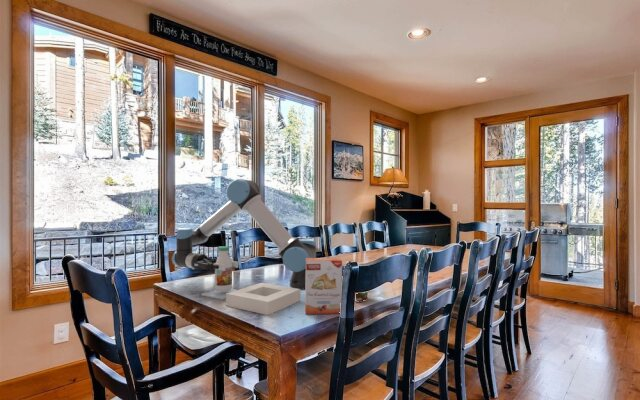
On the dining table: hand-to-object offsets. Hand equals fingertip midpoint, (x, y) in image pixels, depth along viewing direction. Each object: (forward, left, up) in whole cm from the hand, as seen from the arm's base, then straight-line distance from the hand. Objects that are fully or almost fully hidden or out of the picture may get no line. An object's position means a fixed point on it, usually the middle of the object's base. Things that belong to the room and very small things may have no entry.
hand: (231, 266), depth 156 cm
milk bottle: (+4, -3, -12) cm, 13 cm away
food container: (-59, +9, -14) cm, 61 cm away
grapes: (-56, -11, -14) cm, 59 cm away
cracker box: (-40, +25, -14) cm, 49 cm away
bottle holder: (-16, +12, -13) cm, 24 cm away
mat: (+4, -3, -13) cm, 14 cm away
